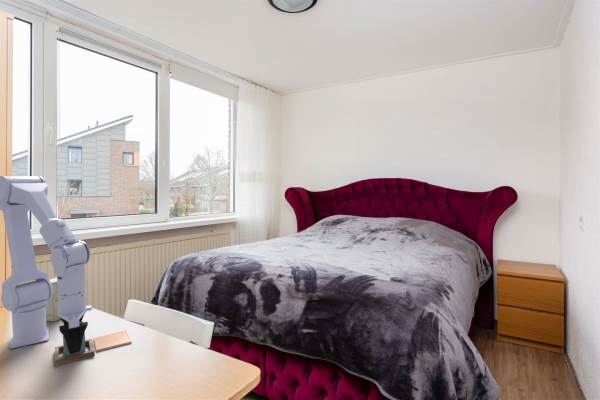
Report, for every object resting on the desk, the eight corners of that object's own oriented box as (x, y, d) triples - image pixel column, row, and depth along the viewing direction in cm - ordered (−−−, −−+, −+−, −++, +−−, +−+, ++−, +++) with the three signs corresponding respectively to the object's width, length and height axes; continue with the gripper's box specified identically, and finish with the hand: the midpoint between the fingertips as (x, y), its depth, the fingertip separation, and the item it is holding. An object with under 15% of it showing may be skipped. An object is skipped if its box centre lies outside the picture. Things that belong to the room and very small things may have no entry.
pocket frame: (55, 351, 86) (54, 347, 86) (92, 343, 91) (92, 338, 91) (54, 366, 80) (54, 361, 80) (94, 355, 84) (94, 351, 84)
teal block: (63, 353, 86) (62, 325, 85) (84, 348, 88) (83, 321, 88) (64, 360, 82) (62, 332, 82) (85, 355, 85) (84, 327, 84)
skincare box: (54, 322, 104) (52, 282, 104) (42, 321, 105) (40, 281, 104) (72, 314, 111) (70, 276, 110) (60, 313, 111) (58, 276, 111)
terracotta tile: (93, 339, 93) (93, 337, 93) (126, 332, 97) (126, 330, 97) (96, 351, 86) (96, 349, 86) (131, 343, 91) (131, 341, 91)
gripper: (93, 297, 81) (95, 353, 82) (89, 282, 93) (90, 331, 93) (56, 303, 77) (59, 362, 78) (56, 286, 89) (59, 338, 89)
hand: (74, 346), depth 85 cm, fingers open, 7 cm apart
